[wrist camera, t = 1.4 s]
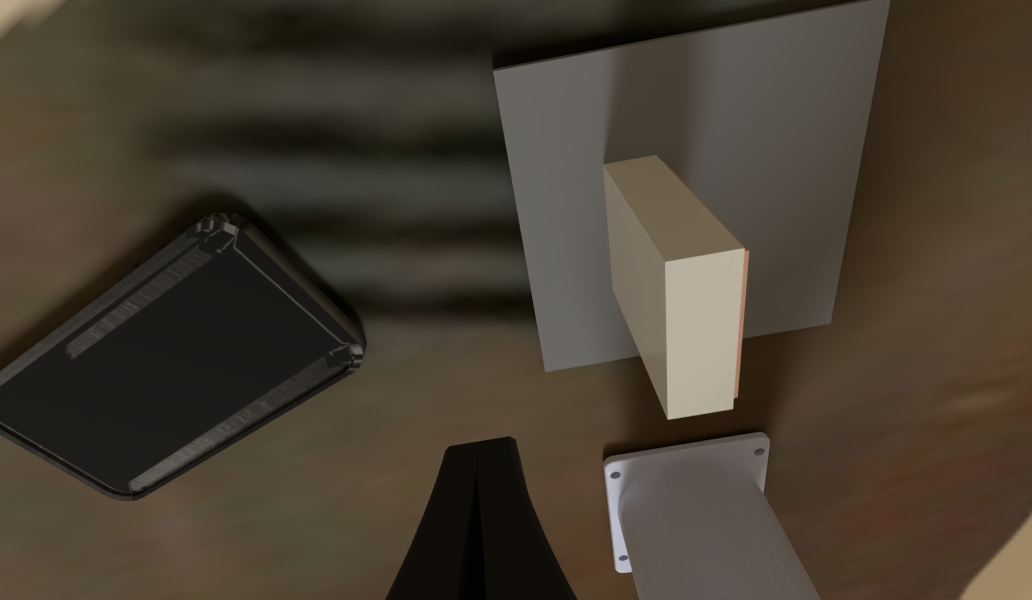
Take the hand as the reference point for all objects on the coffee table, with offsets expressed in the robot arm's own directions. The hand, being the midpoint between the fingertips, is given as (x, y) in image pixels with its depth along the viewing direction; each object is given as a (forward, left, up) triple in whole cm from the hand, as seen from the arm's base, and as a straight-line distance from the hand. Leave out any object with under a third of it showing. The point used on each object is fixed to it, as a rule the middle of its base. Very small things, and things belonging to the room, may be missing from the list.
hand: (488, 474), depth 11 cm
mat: (0, -8, -10) cm, 13 cm away
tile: (0, -6, -10) cm, 11 cm away
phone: (-3, +13, -11) cm, 18 cm away
